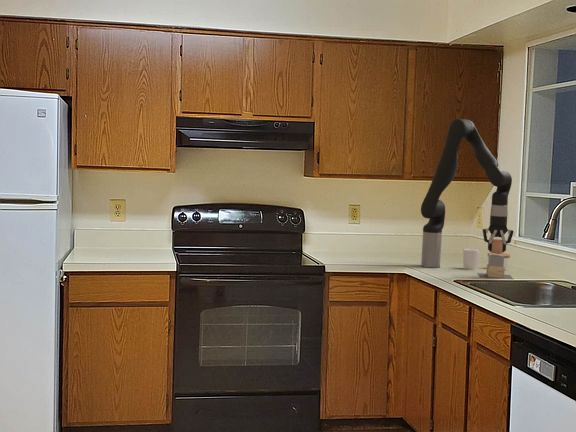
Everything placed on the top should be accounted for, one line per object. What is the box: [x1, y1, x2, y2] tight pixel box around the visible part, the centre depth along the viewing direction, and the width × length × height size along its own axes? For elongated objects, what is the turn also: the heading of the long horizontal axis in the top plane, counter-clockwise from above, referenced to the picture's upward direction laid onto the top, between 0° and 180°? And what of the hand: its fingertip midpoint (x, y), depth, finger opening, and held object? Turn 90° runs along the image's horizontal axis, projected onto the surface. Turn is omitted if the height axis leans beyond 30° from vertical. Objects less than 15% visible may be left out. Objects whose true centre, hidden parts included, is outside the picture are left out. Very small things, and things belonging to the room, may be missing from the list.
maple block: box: [486, 263, 506, 278], centre depth 343 cm, size 7×7×5 cm
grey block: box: [487, 254, 504, 267], centre depth 343 cm, size 6×6×4 cm
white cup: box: [462, 248, 481, 271], centre depth 364 cm, size 8×8×10 cm
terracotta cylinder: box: [490, 238, 504, 254], centre depth 342 cm, size 5×5×6 cm
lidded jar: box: [487, 252, 511, 270], centre depth 369 cm, size 11×11×9 cm
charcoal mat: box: [476, 272, 515, 280], centre depth 344 cm, size 13×15×1 cm
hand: (496, 251), depth 343 cm, fingers closed on terracotta cylinder, 5 cm apart
